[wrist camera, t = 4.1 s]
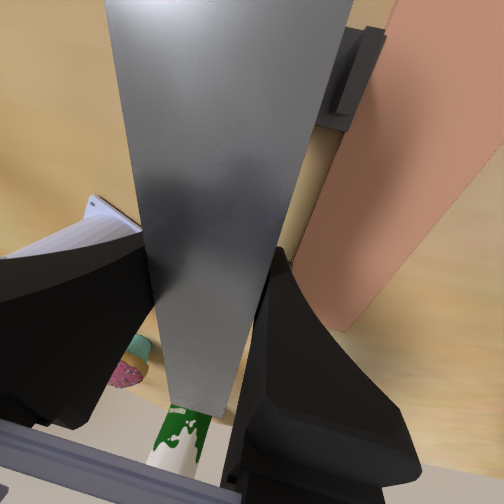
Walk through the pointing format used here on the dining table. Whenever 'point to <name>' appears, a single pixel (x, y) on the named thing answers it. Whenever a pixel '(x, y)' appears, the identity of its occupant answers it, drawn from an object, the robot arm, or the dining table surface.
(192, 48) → the rail
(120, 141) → the dining table surface
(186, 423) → the milk carton
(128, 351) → the cupcake
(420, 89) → the mat
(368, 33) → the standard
